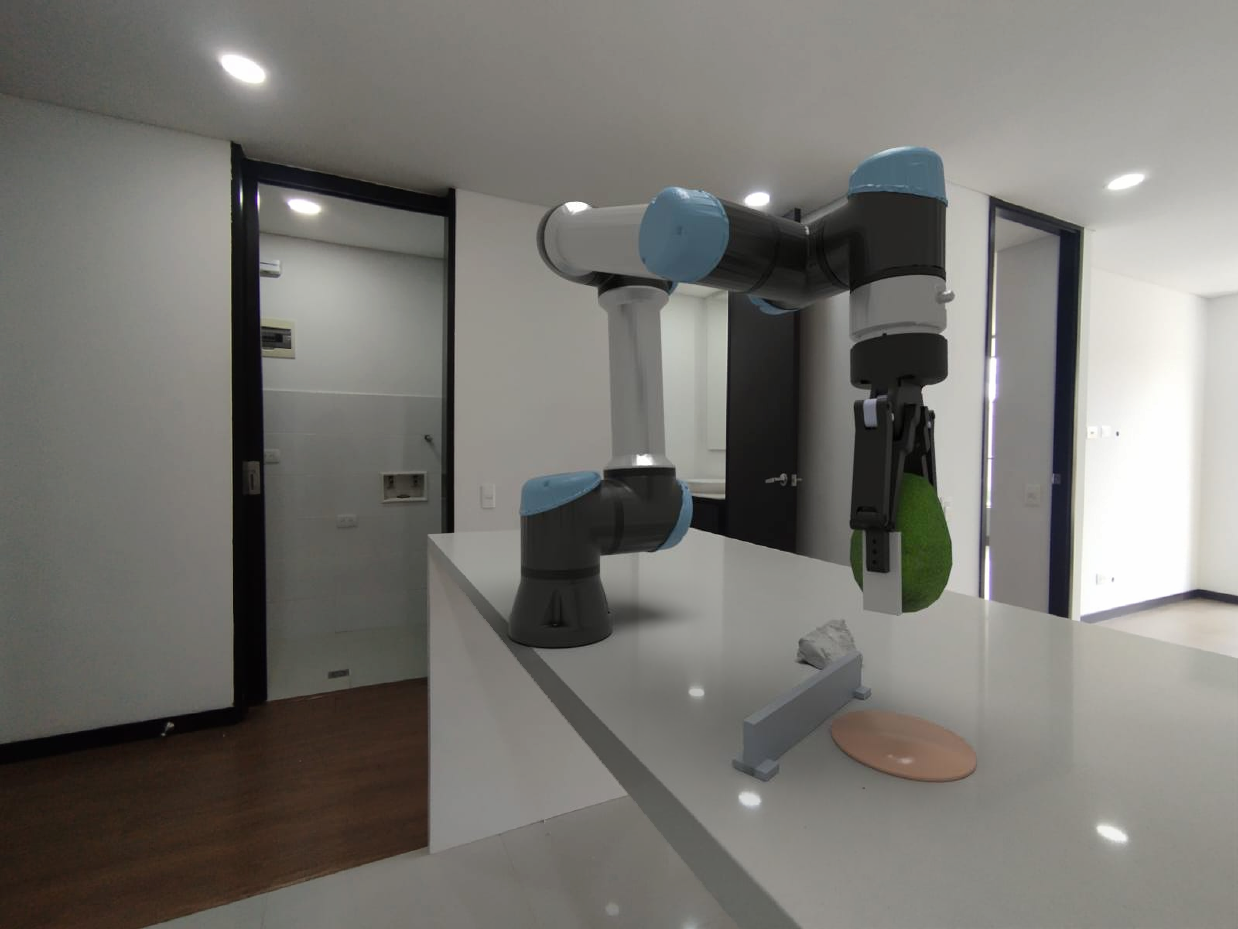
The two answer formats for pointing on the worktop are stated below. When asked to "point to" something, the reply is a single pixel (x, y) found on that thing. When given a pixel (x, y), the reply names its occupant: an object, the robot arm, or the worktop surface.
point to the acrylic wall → (797, 715)
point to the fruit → (916, 545)
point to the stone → (827, 644)
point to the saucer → (903, 746)
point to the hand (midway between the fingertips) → (899, 601)
